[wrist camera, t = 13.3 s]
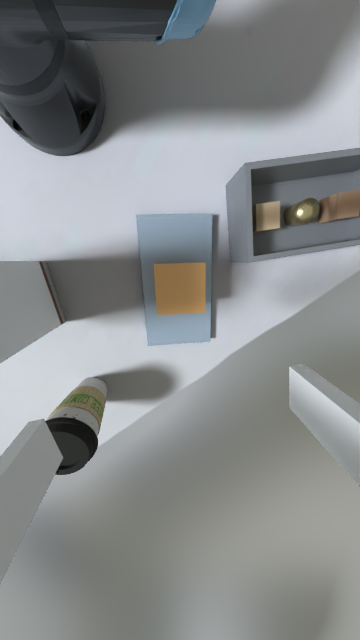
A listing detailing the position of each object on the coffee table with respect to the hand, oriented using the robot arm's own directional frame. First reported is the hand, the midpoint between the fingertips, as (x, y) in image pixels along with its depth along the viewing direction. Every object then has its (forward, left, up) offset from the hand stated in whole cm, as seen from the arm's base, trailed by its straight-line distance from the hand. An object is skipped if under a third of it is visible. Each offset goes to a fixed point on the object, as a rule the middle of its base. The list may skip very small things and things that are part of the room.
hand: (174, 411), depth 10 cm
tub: (-12, +26, -29) cm, 41 cm away
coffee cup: (+17, -19, -30) cm, 39 cm away
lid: (-3, +3, -29) cm, 29 cm away
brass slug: (-12, +26, -29) cm, 41 cm away
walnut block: (-12, +33, -29) cm, 45 cm away
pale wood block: (-12, +19, -29) cm, 37 cm away
